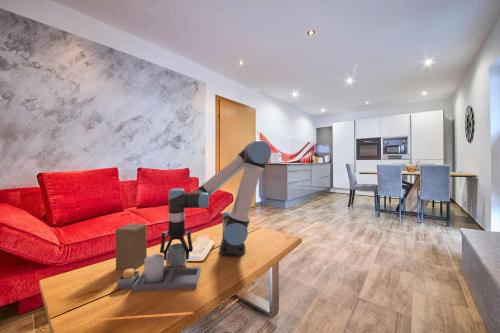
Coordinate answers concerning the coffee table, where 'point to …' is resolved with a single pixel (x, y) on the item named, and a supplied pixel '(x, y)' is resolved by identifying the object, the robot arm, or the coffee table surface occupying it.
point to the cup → (176, 255)
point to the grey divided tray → (171, 280)
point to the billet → (154, 269)
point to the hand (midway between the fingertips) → (176, 265)
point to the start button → (128, 273)
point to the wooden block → (131, 246)
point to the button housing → (127, 281)
